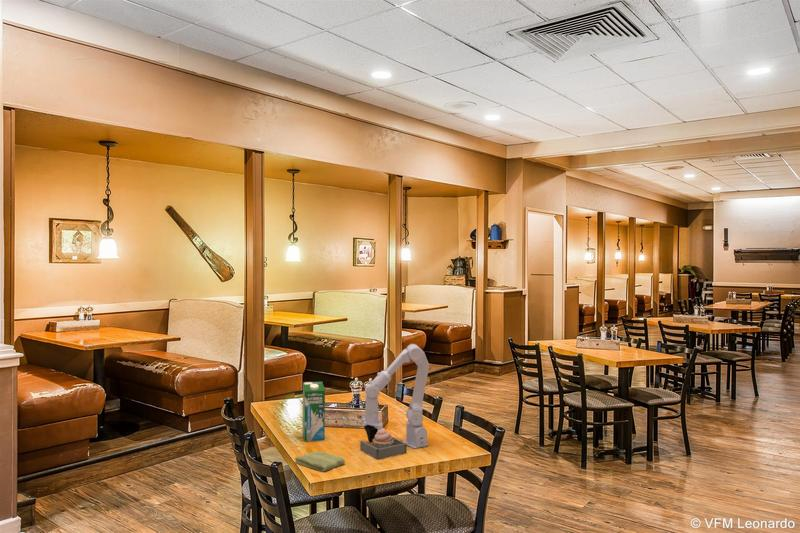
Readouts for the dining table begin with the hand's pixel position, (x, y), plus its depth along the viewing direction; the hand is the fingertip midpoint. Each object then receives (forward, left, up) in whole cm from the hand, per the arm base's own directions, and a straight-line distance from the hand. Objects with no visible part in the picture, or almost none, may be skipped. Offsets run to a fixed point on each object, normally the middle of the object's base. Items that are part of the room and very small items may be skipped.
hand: (371, 442), depth 251 cm
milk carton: (+23, +17, -2) cm, 29 cm away
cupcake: (-9, 0, -2) cm, 10 cm away
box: (-9, 0, -1) cm, 9 cm away
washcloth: (-8, +29, -2) cm, 30 cm away
